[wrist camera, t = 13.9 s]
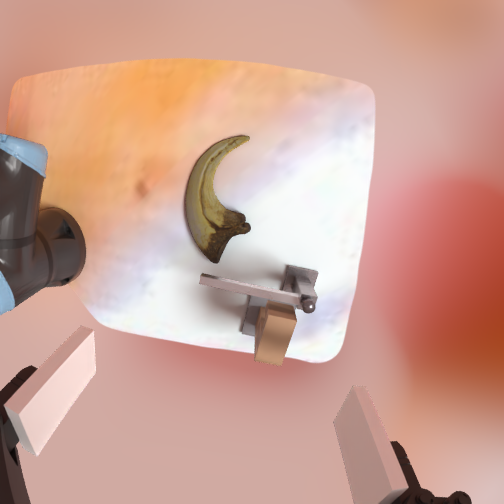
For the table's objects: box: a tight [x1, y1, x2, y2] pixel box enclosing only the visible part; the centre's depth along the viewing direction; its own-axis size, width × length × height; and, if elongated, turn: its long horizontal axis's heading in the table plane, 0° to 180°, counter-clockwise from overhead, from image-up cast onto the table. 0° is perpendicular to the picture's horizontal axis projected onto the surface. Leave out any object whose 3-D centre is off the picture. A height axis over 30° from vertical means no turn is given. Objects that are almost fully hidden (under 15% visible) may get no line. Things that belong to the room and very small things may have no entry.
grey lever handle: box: [199, 265, 318, 313], centre depth 46 cm, size 18×5×10 cm, turn 77°
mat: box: [242, 295, 296, 336], centre depth 52 cm, size 8×8×1 cm
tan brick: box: [254, 300, 297, 366], centre depth 46 cm, size 8×4×11 cm, turn 166°
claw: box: [186, 136, 251, 264], centre depth 46 cm, size 20×10×3 cm, turn 2°
